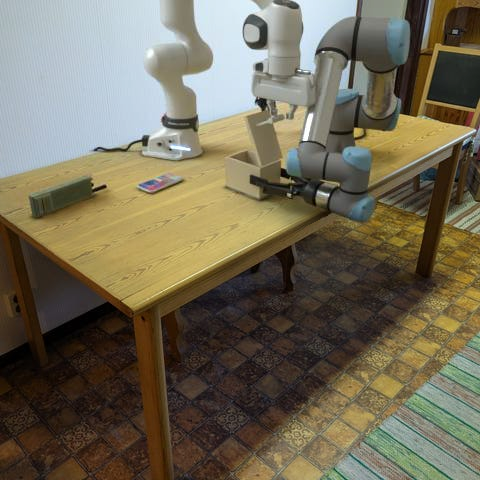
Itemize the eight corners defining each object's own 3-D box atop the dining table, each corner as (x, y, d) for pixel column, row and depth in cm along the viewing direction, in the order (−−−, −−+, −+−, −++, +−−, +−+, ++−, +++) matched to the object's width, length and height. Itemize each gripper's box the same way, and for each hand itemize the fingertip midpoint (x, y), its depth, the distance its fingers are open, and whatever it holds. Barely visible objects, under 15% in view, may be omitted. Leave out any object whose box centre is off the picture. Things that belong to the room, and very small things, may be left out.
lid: (243, 116, 146) (263, 109, 140) (265, 110, 153) (286, 103, 147) (258, 167, 149) (279, 161, 143) (280, 158, 156) (300, 153, 150)
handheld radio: (30, 215, 144) (102, 188, 161) (37, 219, 142) (109, 191, 159) (26, 193, 140) (100, 168, 157) (33, 197, 138) (107, 171, 155)
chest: (225, 187, 163) (225, 156, 158) (246, 178, 169) (246, 149, 164) (259, 200, 154) (260, 168, 149) (279, 191, 161) (281, 160, 156)
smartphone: (184, 177, 167) (150, 191, 157) (184, 180, 167) (151, 194, 157) (168, 171, 171) (134, 185, 161) (168, 174, 171) (135, 188, 161)
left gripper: (322, 69, 132) (318, 121, 139) (262, 60, 145) (261, 109, 151) (308, 73, 128) (304, 126, 135) (248, 63, 141) (247, 113, 147)
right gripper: (296, 219, 138) (236, 196, 151) (341, 195, 153) (283, 175, 166) (298, 194, 134) (237, 172, 147) (344, 171, 149) (285, 153, 162)
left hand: (281, 117), depth 143 cm, fingers open, 4 cm apart
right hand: (261, 174), depth 156 cm, fingers closed on chest, 10 cm apart
